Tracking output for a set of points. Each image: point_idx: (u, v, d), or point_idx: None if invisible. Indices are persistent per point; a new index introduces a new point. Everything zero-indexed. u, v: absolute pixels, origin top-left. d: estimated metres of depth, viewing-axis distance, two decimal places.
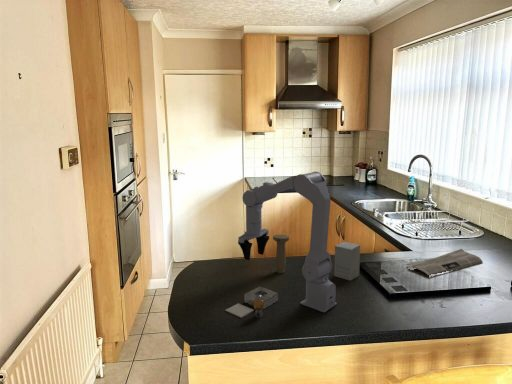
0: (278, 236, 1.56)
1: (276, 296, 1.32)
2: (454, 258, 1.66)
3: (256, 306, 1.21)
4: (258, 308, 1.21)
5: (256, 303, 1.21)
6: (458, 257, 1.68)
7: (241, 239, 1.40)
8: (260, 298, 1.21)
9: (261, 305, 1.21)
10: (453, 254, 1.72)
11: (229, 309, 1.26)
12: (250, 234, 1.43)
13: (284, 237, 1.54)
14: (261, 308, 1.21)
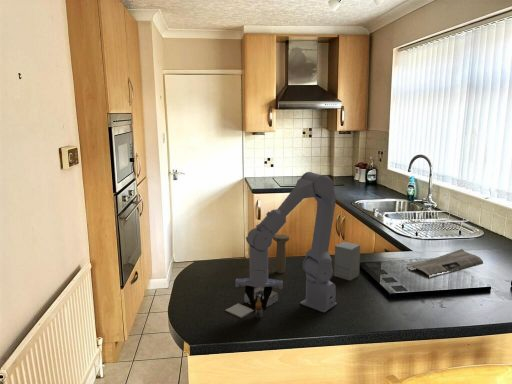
0: (278, 236, 1.56)
1: (276, 296, 1.32)
2: (454, 258, 1.66)
3: (256, 306, 1.21)
4: (258, 308, 1.21)
5: (256, 303, 1.21)
6: (458, 257, 1.68)
7: None
8: (260, 298, 1.21)
9: (261, 305, 1.21)
10: (453, 254, 1.72)
11: (229, 309, 1.26)
12: (249, 280, 1.20)
13: (284, 237, 1.54)
14: (261, 308, 1.21)
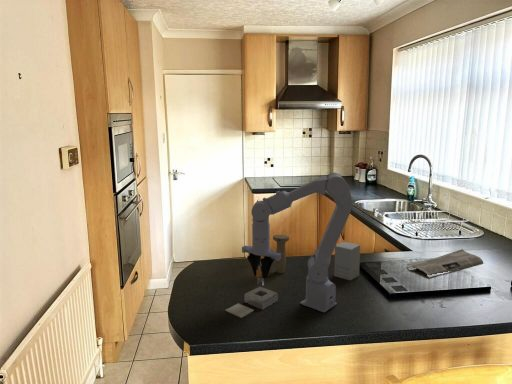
0: (278, 236, 1.56)
1: (276, 296, 1.32)
2: (454, 258, 1.66)
3: (256, 274, 1.30)
4: (258, 276, 1.29)
5: (256, 271, 1.29)
6: (458, 257, 1.68)
7: None
8: (260, 267, 1.29)
9: (261, 274, 1.29)
10: (454, 254, 1.72)
11: (229, 309, 1.26)
12: None
13: (284, 237, 1.54)
14: (261, 277, 1.29)
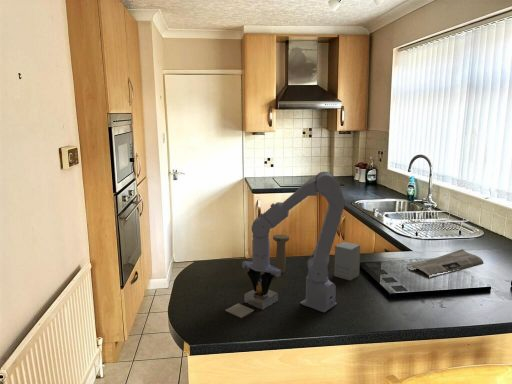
0: (278, 236, 1.56)
1: (276, 296, 1.32)
2: (454, 258, 1.66)
3: (257, 289, 1.31)
4: (258, 292, 1.30)
5: (257, 287, 1.30)
6: (459, 257, 1.68)
7: None
8: (260, 283, 1.30)
9: (261, 289, 1.30)
10: (454, 254, 1.72)
11: (229, 309, 1.26)
12: None
13: (284, 237, 1.54)
14: (261, 292, 1.30)
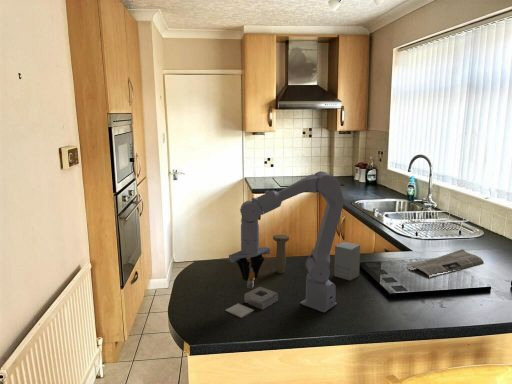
0: (278, 236, 1.56)
1: (276, 296, 1.32)
2: (455, 258, 1.66)
3: (250, 277, 1.26)
4: (252, 278, 1.26)
5: (250, 274, 1.26)
6: (459, 257, 1.68)
7: (231, 258, 1.22)
8: (253, 268, 1.26)
9: (254, 275, 1.27)
10: (454, 254, 1.72)
11: (229, 309, 1.26)
12: (243, 253, 1.24)
13: (284, 237, 1.54)
14: (254, 278, 1.27)
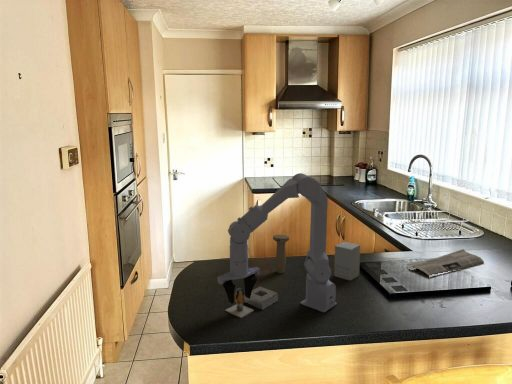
0: (278, 236, 1.56)
1: (276, 296, 1.32)
2: (455, 259, 1.66)
3: (240, 300, 1.24)
4: (242, 301, 1.24)
5: (240, 297, 1.24)
6: (459, 257, 1.68)
7: (220, 280, 1.20)
8: (242, 291, 1.25)
9: (243, 297, 1.25)
10: (454, 254, 1.72)
11: (229, 309, 1.26)
12: (233, 274, 1.22)
13: (284, 237, 1.54)
14: None
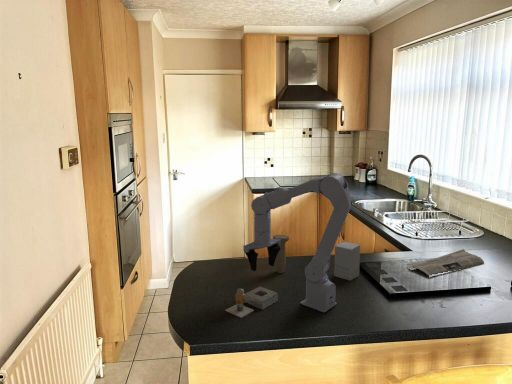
0: (278, 236, 1.56)
1: (276, 296, 1.32)
2: (455, 259, 1.66)
3: (240, 300, 1.24)
4: (242, 301, 1.24)
5: (241, 297, 1.24)
6: (459, 257, 1.67)
7: (245, 248, 1.30)
8: (243, 291, 1.25)
9: (244, 298, 1.25)
10: (454, 254, 1.72)
11: (229, 309, 1.26)
12: (257, 243, 1.33)
13: (284, 237, 1.54)
14: (244, 301, 1.25)
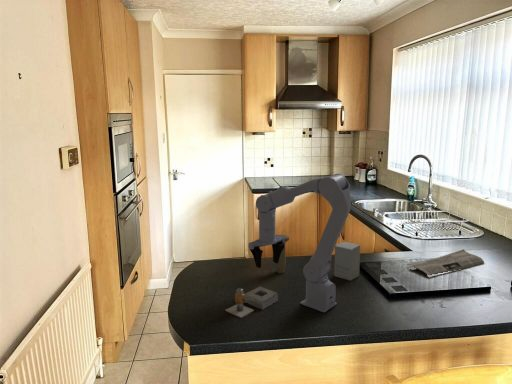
0: None
1: (276, 296, 1.32)
2: (455, 259, 1.66)
3: (240, 300, 1.24)
4: (242, 301, 1.24)
5: (240, 297, 1.24)
6: (459, 257, 1.67)
7: (250, 245, 1.33)
8: (242, 291, 1.25)
9: (244, 297, 1.25)
10: (455, 254, 1.72)
11: (229, 309, 1.26)
12: (262, 241, 1.35)
13: None
14: (244, 300, 1.25)
